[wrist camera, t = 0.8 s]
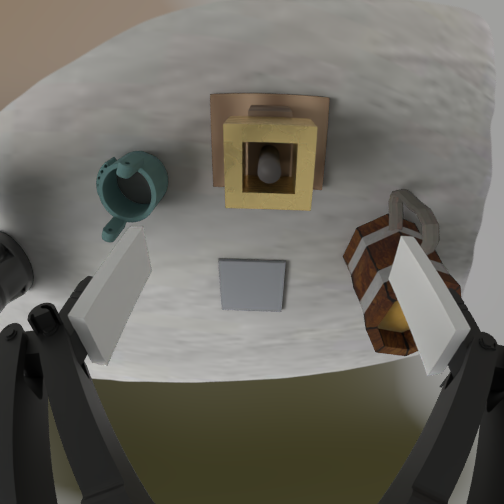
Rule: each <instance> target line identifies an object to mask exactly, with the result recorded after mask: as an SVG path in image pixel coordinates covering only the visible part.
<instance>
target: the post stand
mask: <svg viewBox="0 0 504 504" xmlns="http://www.w3.org/2000/svg"><path fill="white" fill-rule="evenodd" d="M210 106H211V140H212V166H213V187H225V178H224V139H223V124H224V123H225V121H226V120H227V119H228V118H229V117H230V116H260V117H289V118H306V119H311V120H312V122H313V123H314V124H315V125H316V126H317V142H316V155H315V168H314V180H313V190H322V185H323V175H324V165H325V154H326V141H327V128H328V114H329V98H328V97H319V96H306V95H290V94H263V93H227V94H210ZM292 153H293V143H275V142H246V175H258V177H259V178H260V180H261V181H263V182H265V183H269V184H270V183H274V182H276V181H278V180H279V178H280V176H290V177H291V172H292Z"/></svg>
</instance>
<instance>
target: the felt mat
mask: <svg viewBox="0 0 504 504" xmlns="http://www.w3.org/2000/svg"><path fill="white" fill-rule="evenodd" d="M218 262H219V277H220V291H221V304H222V310H243V311H271V312H281V310H282V299H283V288H284V276H285V264H286V262H285V261H276V260H245V259H219V261H218Z"/></svg>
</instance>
